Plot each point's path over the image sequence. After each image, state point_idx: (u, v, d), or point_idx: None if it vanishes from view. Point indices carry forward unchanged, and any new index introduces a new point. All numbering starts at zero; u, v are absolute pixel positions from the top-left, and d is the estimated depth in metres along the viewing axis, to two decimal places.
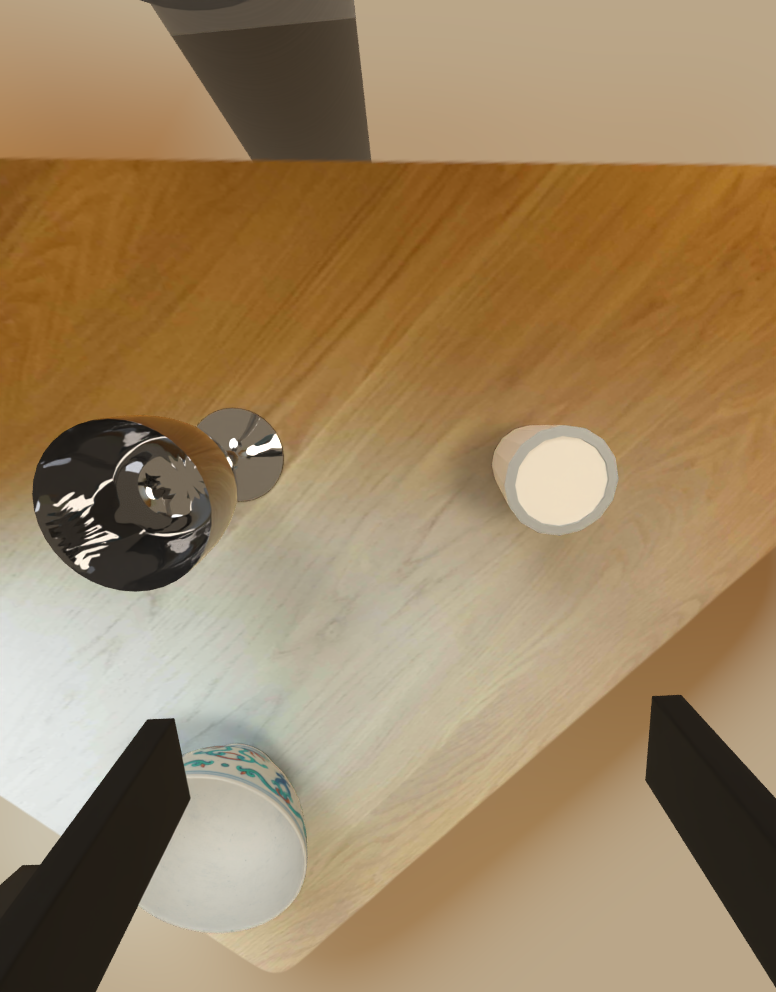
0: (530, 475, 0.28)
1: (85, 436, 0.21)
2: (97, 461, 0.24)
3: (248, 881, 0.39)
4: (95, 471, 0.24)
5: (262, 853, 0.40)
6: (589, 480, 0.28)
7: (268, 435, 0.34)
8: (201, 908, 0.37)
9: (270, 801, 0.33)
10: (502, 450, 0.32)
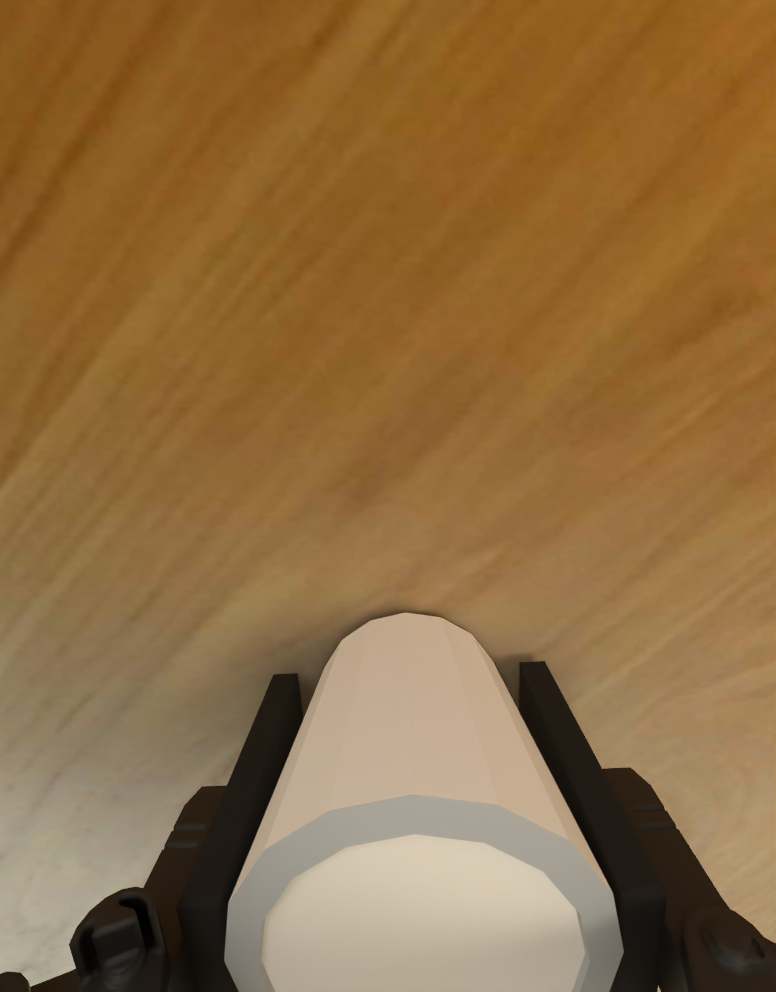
0: (309, 935, 0.08)
1: None
2: None
3: None
4: None
5: None
6: (520, 954, 0.08)
7: None
8: None
9: None
10: (305, 719, 0.12)
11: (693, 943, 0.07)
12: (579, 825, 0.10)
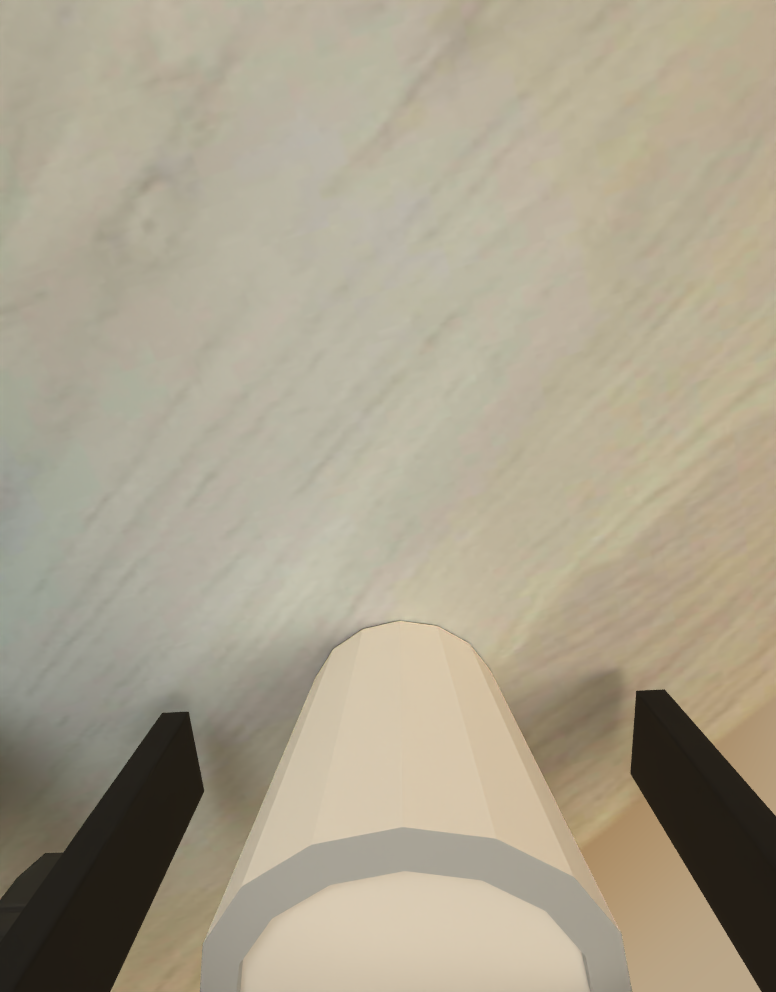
0: (291, 978, 0.07)
1: None
2: None
3: None
4: None
5: None
6: None
7: None
8: None
9: None
10: (293, 735, 0.11)
11: None
12: (773, 901, 0.08)
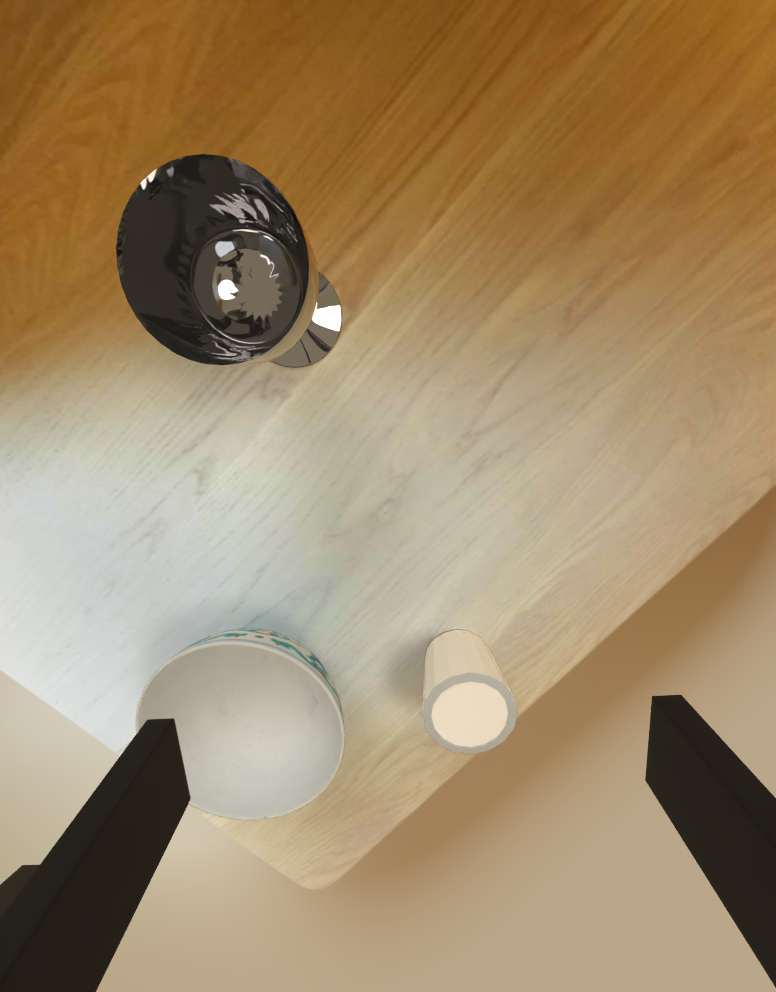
0: (443, 709, 0.33)
1: (168, 201, 0.20)
2: (173, 250, 0.22)
3: (280, 774, 0.37)
4: (170, 263, 0.22)
5: (293, 748, 0.38)
6: (493, 713, 0.33)
7: (327, 292, 0.33)
8: (232, 798, 0.36)
9: (307, 670, 0.32)
10: (428, 664, 0.37)
11: None
12: None
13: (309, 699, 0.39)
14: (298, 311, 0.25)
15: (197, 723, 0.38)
